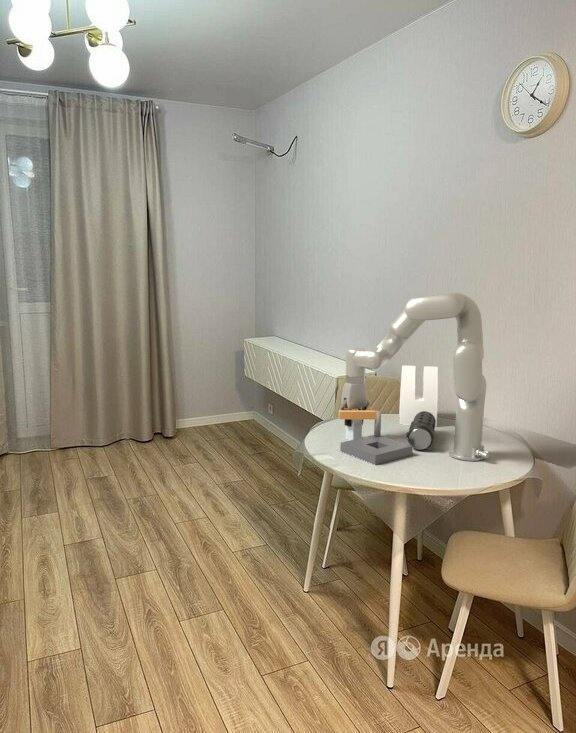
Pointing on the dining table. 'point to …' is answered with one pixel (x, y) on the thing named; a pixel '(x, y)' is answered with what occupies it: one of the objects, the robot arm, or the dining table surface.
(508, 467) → the dining table surface
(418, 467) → the dining table surface
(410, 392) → the white u-shaped block
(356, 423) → the plug
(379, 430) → the try square
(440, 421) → the dining table surface
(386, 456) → the socket block
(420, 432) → the muzzle brake
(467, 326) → the robot arm
